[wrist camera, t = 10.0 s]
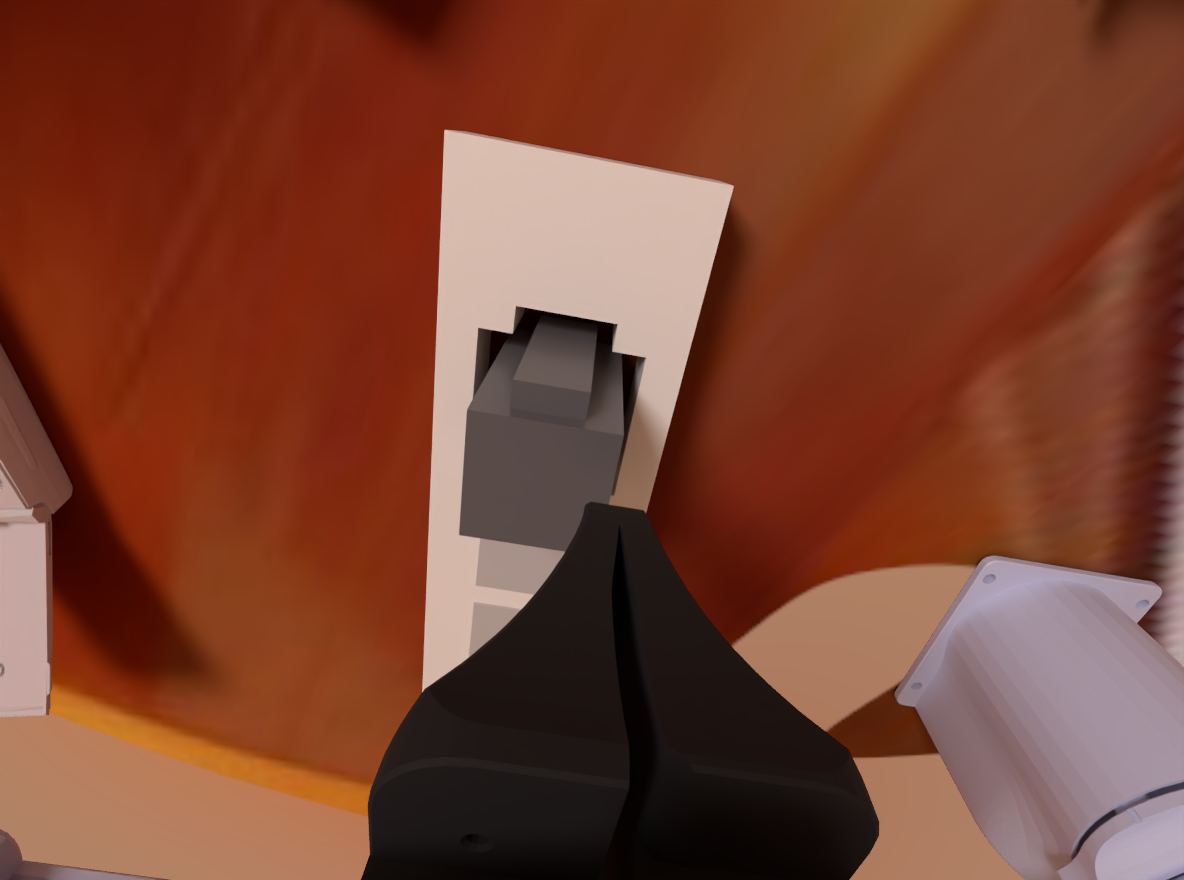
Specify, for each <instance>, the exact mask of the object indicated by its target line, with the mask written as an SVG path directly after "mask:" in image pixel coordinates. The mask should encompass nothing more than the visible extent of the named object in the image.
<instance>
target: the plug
mask: <svg viewBox="0 0 1184 880" xmlns="http://www.w3.org/2000/svg"><path fill="white" fill-rule="evenodd" d="M597 330H598V325H597V324H591V323H586V322H580V321H574V320H568V319H563V318H557V317H551V316H545V315H541V317H540V319H539V321H538V324H537V326H536V328H535V330H534V331H528V330H523V329H517V328H516V329H515V331H514V333H513V334H511V333H510V334H509V336H508V338H507V339H506V341H505V343H504V345H503V347H502V348H501V350H500V352H499V354H498V355H497V357H496V359H495V361H494V363H493V364H492V366H491V368H490V370H489V371H488V373H487V375H486V377H485V378H484V380H483V382H482V384H481V386H480V387H479V389H478V391H477V393H476V394H475V396H474V398H473V400H472V402H471V403H470V405H469V407H468V409H467V417H466V432H465V448H464V464H463V479H462V495H461V511H460V526H459V535H462V536H468V537H474V538H481V539H487V540H494V541H500V542H507V543H513V544H519V545H526V546H532V547H539V548H545V549H551V550H558V551H564V552H565V551H566V550H567V548H568V546H569V544H570V542H571V541H572V539H573V537H574V535H575V533H576V531H577V529H578V527H579V525H580V522H581V520H582V517H583V513H584V507H585V505H586V504H587V503H589V502H597V503H603V504H609V502H610V497H611V492H612V488H613V483H614V479H615V474H616V469H617V465H618V460H619V456H620V451H621V447H622V442H623V437H624V418H623V377H622V353H618V352H612V345H610V344H604V343H598V342H596V340H597Z"/></svg>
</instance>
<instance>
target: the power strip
mask: <svg viewBox="0 0 1184 880" xmlns="http://www.w3.org/2000/svg"><path fill="white" fill-rule="evenodd" d="M733 187H734V186H732V185H730V184H727V183H724V182H721V181H718V180H713V179H708V178H703V177H698V176H693V175H688V174H682V173H677V172H672V171H667V170H662V169H657V168H652V167H646V166H641V165H636V164H631V163H626V162H621V161H616V160H610V159H605V158H600V157H595V156H590V155H585V154H580V153H574V152H569V151H564V150H559V149H554V148H549V147H544V146H538V145H533V144H528V143H523V142H518V141H513V140H507V139H502V138H497V137H492V136H487V135H482V134H477V133H471V132H466V131H453V130H445V132H444V158H443V183H442V208H441V234H440V259H439V284H438V310H437V335H436V360H435V385H434V411H433V436H432V461H431V487H430V512H429V537H428V563H427V588H426V613H425V639H424V664H423V689H422V692H423V691H424V689H425V688H427V687H428V686H430V685H431V684H432V683H434V682H435V681H437V680H438V679H440V678H441V677H442V676H444V675H445V674H447V673H448V672H450V671H451V670H452V669H454V668H455V667H457V666H458V665H459V664H461V663H462V662H463V661H465V660H466V659H467V658H469V657H470V656H471V655H472V654H473V653H475V652H476V651H477V650H478V649H479V648H481V647H482V646H483V645H484V644H485V643H486V642H488V641H489V640H490V639H491V638H492V637H494V636H495V635H496V634H497V633H498V632H499V631H500V630H501V629H502V628H503V627H504V626H505V625H506V624H508V623H509V621H510V620H511V619H512V618H513V617H514V616H515V615H516V614H517V613H518V612H519V611H520V610H521V609H522V608H523V607H524V606H525V605H526V604H527V603H528V601H529V600H530V599H531V598H532V597H533V596H534V594H535V593H536V592H537V591H538V590H539V588H540V587H541V586H542V584H543V583H544V582H545V581H546V579H547V578H548V577H549V575H550V574H551V572H552V571H553V569H554V568H555V566H556V565H557V564H558V562H559V561H560V559H561V558H562V556H563V555H564V553H565V552H564V551H558V550H551V549H545V548H539V547H532V546H526V545H519V544H513V543H507V542H500V541H494V540H487V539H481V538H474V537H468V536H462V535H459V526H460V511H461V495H462V479H463V464H464V448H465V432H466V417H467V409H468V407H469V405H470V403H471V402H472V400H473V398H474V396H475V394H476V393H477V391H478V389H479V387H480V386H481V384H482V382H483V380H484V378H485V377H486V375H487V373H488V366H489V355H490V344H491V332H492V330H494V331H500V332H505V333H511V334H513V333H514V331H515V329H516V327H517V325H518V323H519V322H520V320H521V318H522V316H523V314H524V312H525V308H530V309H536V310H541V311H547V312H552V313H558V314H563V315H569V316H574V317H580V318H585V319H591V320H596V321H602V322H607V323H613V324H614V325H613V344H612V352H618V353H623V354H629V355H634V356H638V358H637V363H636V367H635V372H634V376H633V381H632V385H631V390H630V394H629V399H628V403H627V408H626V412H625V417H624V437H623V442H622V447H621V451H620V456H619V460H618V465H617V469H616V474H615V479H614V483H613V488H612V492H611V497H610V502H609V505H615V506H621V507H627V508H633V509H640V510H644V511H645V513H646V512H647V508H648V504H649V500H650V497H651V493H652V489H653V486H654V482H655V478H656V474H657V471H658V467H659V463H660V459H661V456H662V452H663V448H664V445H665V441H666V437H667V433H668V430H669V426H670V422H671V418H672V415H673V411H674V407H675V404H676V400H677V396H678V392H679V389H680V385H681V381H682V377H683V374H684V370H685V366H686V362H687V359H688V355H689V351H690V348H691V344H692V340H693V336H694V333H695V329H696V325H697V321H698V318H699V314H700V310H701V307H702V303H703V299H704V295H705V292H706V288H707V284H708V280H709V277H710V273H711V269H712V265H713V262H714V258H715V254H716V251H717V247H718V243H719V239H720V236H721V232H722V228H723V224H724V221H725V217H726V213H727V210H728V206H729V202H730V198H731V195H732V191H733Z"/></svg>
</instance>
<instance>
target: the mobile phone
mask: <svg viewBox="0 0 1184 880" xmlns="http://www.w3.org/2000/svg"><path fill="white" fill-rule="evenodd" d="M72 490H73V486H72V484H71V482H70V479H69V477H68V475H67V473H66V471H65V469H64V467H63V465H62V463H61V461H60V459H59V457H58V455H57V453H56V451H55V449H54V447H53V445H52V443H51V441H50V439H49V437H48V435H47V433H46V431H45V429H44V428H43V426H42V424H41V422H40V420H39V418H38V416H37V414H36V412H35V410H34V408H33V406H32V404H31V402H30V400H29V398H28V396H27V394H26V392H25V390H24V388H23V386H22V384H21V382H20V380H19V378H18V376H17V374H16V372H15V370H14V368H13V366H12V364H11V362H10V360H9V359H8V357H7V355H6V353H5V351H4V349H3V347H2V345H1V343H0V717H17V716H37V715H38V716H39V715H49V709H50V692H51V689H52V668H51V667H52V649H53V589H52V519H51V514H54V513H55V512H56V511H57V510H58V509H59V508H60V507H61V506H62V505H63V504H64V503H65V502H66V501H67V500H68V499H69V498H70V497H71V496H72Z"/></svg>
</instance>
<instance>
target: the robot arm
mask: <svg viewBox="0 0 1184 880" xmlns="http://www.w3.org/2000/svg"><path fill="white" fill-rule="evenodd" d="M986 575H988V576H986ZM985 576H986V577H985ZM1161 595H1162V589H1161V588H1160V587H1159V586H1157V585H1156V584H1155V583H1153V582H1151V581H1145V580H1139V579H1133V578H1127V577H1121V576H1115V575H1109V574H1103V573H1097V572H1091V571H1085V570H1079V569H1073V568H1067V567H1061V566H1055V565H1049V564H1043V563H1037V562H1031V561H1025V560H1019V559H1013V558H1007V557H1001V556H988V557H986V558H984V559H982V560H981V561H980V563H979V564H978V566H977V567H976V569H975V570H974V572H973V573H972V575H971V577H970V578H969V579H968V581H967V582H966V584H965V585H964V587H963V589H962V590H961V592H960V593H959V595H958V596H957V598H956V599H955V601H954V602H953V604H952V606H951V607H950V609H949V610H948V612H947V613H946V615H945V616H944V618H943V619H942V621H941V622H940V624H939V625H938V627H937V629H936V630H935V631H934V633H933V634H932V636H931V638H930V639H929V641H928V642H927V644H926V645H925V647H924V648H923V650H922V651H921V653H920V654H919V656H918V658H917V659H916V660H915V662H914V663H913V665H912V667H911V668H910V670H909V671H908V673H907V674H906V676H905V677H904V679H903V680H902V682H901V683H900V685H899V686H898V688H897V689H896V691H895V693H894V696H895V698H896V700H897V702H898V703H899V704H901V705H905V706H912V707H915V708H916V710H917V712H918V714H919V716H920V718H921V720H922V722H923V723H924V725H925V727H926V729H927V731H928V733H929V735H930V737H931V739H932V740H933V742H934V744H935V746H936V748H937V750H938V752H939V754H940V756H941V757H942V759H943V761H944V763H945V765H946V767H947V769H948V771H949V773H950V775H951V776H952V778H953V780H954V782H955V784H956V786H957V788H958V790H959V791H960V793H961V795H962V797H963V799H964V801H965V803H966V805H967V807H968V808H969V810H970V812H971V814H972V816H973V818H974V820H975V822H976V823H977V825H978V827H979V828H980V830H981V831H982V833H983V834H984V836H985V837H986V838H987V840H988V841H989V842H990V844H991V845H992V846H993V847H994V849H995V850H996V851H997V852H998V853H999V854H1000V856H1001V857H1002V858H1003V859H1004V860H1006V862H1007V863H1008V864H1009V865H1010V866H1011V867H1012V868H1013V869H1014V870H1015V871H1016V872H1017V873H1018V874H1020V875H1021V876H1022V877H1023V878H1024V879H1025V880H1184V667H1183V666H1182V665H1181V664H1180V663H1179V662H1178V661H1177V660H1176V659H1175V658H1173V657H1172V656H1171V655H1170V654H1169V653H1168V652H1167V651H1166V650H1165V649H1164V648H1163V647H1162V646H1160V645H1159V644H1158V643H1157V642H1156V641H1155V640H1154V639H1153V638H1152V637H1151V636H1150V635H1149V634H1147V633H1146V632H1145V631H1144V630H1143V629H1142V628H1141V627H1140V626H1139V625H1138V624H1137V622H1138V621H1139V620H1140V619H1141V618H1142V617H1143V616H1144V615H1145V613H1146V612H1147V611H1148V610H1149V609H1150V608H1151V607H1152V606H1153V604H1154V603H1155V602H1156V601H1157V600H1158V599H1159V598H1160V596H1161ZM368 819H369V840H370V856H369V858H368V861H367V864H366V867H365V870H364V873H363V876H362V878H361V880H849V879H850V878H851V877H852V875H853V874H854V873H855V871H856V870H857V869H858V868H859V866H860V865H861V864H862V862H863V861H864V860H865V859H866V857H867V856H868V855H869V853H870V851H871V850H872V848H873V846H874V844H875V842H876V840H877V838H878V836H879V821H878V818H877V815H876V812H875V810H874V807H873V804H872V802H871V800H870V797H869V794H868V791H867V789H866V786H865V784H864V781H863V779H862V777H861V774H860V772H859V770H858V768H857V766H856V764H855V762H854V760H853V758H852V756H851V753H850V751H849V749H847V748H846V747H845V746H843V745H842V744H841V743H839V742H838V741H837V740H836V739H834V738H833V737H832V736H830V735H829V734H828V733H827V732H825V731H824V730H823V729H821V728H820V727H819V726H818V725H816V724H815V723H814V722H812V721H811V720H810V719H808V718H807V717H806V716H805V715H803V714H802V713H801V712H800V711H798V710H797V709H796V708H795V707H794V706H793V705H792V704H790V703H789V702H788V701H787V700H786V699H785V698H783V697H782V696H781V695H780V694H779V693H778V692H777V691H776V690H775V689H773V688H772V687H771V686H770V685H769V684H768V683H767V682H766V681H765V680H764V679H763V678H762V677H761V676H760V675H759V674H758V673H756V672H755V670H753V669H752V667H751V666H750V665H749V664H748V663H747V662H746V661H745V660H744V659H743V658H742V657H741V656H740V655H739V654H738V653H737V652H736V651H735V650H734V649H733V647H732V646H731V645H730V644H729V643H728V642H727V641H726V640H725V639H724V637H723V636H722V635H721V634H720V632H719V631H718V630H717V629H716V628H715V626H714V625H713V624H712V623H711V621H710V620H709V619H708V618H707V616H706V615H705V614H704V612H703V611H702V610H701V608H700V607H699V605H698V604H697V602H696V601H695V600H694V598H693V597H692V595H691V594H690V592H689V591H688V589H687V588H686V586H685V585H684V583H683V581H682V580H681V578H680V577H679V575H678V573H677V571H676V570H675V568H674V566H673V565H672V563H671V561H670V560H669V558H668V556H667V554H666V552H665V551H664V549H663V547H662V545H661V543H660V541H659V539H658V537H657V535H656V533H655V531H654V529H653V527H652V525H651V523H650V520H649V518H648V516H647V514H646V513H645V511H644V510H640V509H633V508H627V507H621V506H615V505H609V504H603V503H597V502H589V503H587V504H586V505H585V507H584V513H583V517H582V520H581V522H580V525H579V527H578V529H577V531H576V533H575V535H574V537H573V539H572V541H571V542H570V544H569V546H568V548H567V550H566V551H565V553H564V555H563V556H562V558H561V559H560V561H559V562H558V564H557V565H556V566H555V568H554V569H553V571H552V572H551V574H550V575H549V577H548V578H547V579H546V581H545V582H544V583H543V584H542V586H541V587H540V588H539V590H538V591H537V592H536V593H535V594H534V596H533V597H532V598H531V599H530V600H529V601H528V603H527V604H526V605H525V606H524V607H523V608H522V609H521V610H520V611H519V612H518V613H517V614H516V615H515V616H514V617H513V618H512V619H511V620H510V621H509V623H508V624H506V625H505V626H504V627H503V628H502V629H501V630H500V631H499V632H498V633H497V634H496V635H495V636H494V637H492V638H491V639H490V640H489V641H488V642H486V643H485V644H484V645H483V646H482V647H481V648H479V649H478V650H477V651H476V652H475V653H473V654H472V655H471V656H470V657H469V658H467V659H466V660H465V661H463V662H462V663H461V664H459V665H458V666H457V667H455V668H454V669H452V670H451V671H450V672H448V673H447V674H445V675H444V676H442V677H441V678H440V679H438V680H437V681H435V682H434V683H432V684H431V685H430V686H428V687H427V688H425V689H424V691H423V692H422V694H421V695H420V696H419V698H418V699H417V701H416V702H415V704H414V705H413V706H412V708H411V709H410V711H409V712H408V714H407V715H406V717H405V719H404V720H403V722H402V723H401V725H400V727H399V728H398V730H397V732H396V733H395V735H394V737H393V739H392V741H391V743H390V745H389V747H388V749H387V750H386V753H385V755H384V757H383V759H382V762H381V764H380V767H379V770H378V772H377V775H376V778H375V780H374V783H373V785H372V788H371V791H370V796H369V801H368ZM0 880H168V879H160V878H152V877H145V876H138V875H129V874H122V873H115V872H107V871H99V870H91V869H83V868H77V867H69V866H61V865H53V864H46V863H39V862H31V861H23V860H22V855H21V852H20V849H19V846H18V844H17V843H16V841H15V840H14V839H13V838H12V837H11V836H10V835H9V834H8V833H6V832H4V831H2V830H0Z"/></svg>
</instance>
